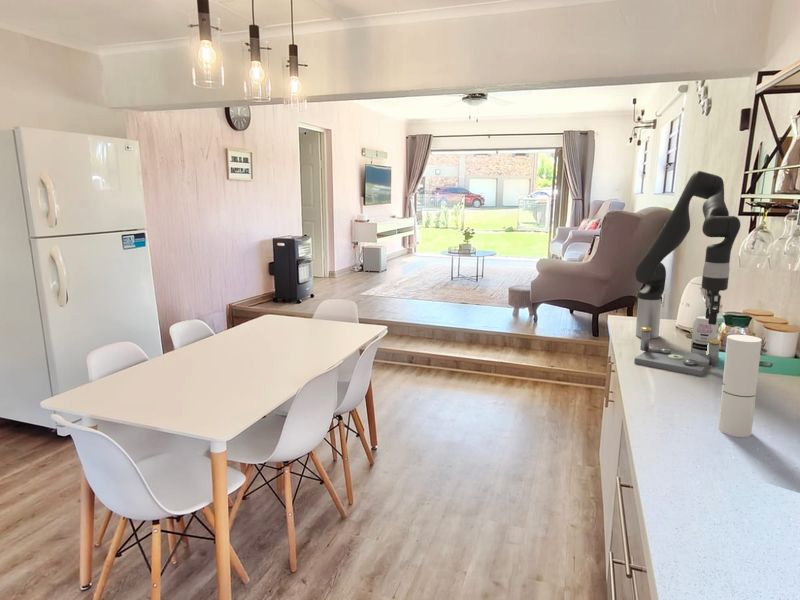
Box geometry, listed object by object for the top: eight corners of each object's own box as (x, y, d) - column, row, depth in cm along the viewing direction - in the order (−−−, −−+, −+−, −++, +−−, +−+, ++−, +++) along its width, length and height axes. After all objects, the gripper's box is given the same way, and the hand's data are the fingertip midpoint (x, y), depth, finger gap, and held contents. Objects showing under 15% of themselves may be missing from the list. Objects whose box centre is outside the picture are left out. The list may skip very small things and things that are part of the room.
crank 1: (670, 351, 190) (671, 328, 188) (671, 354, 186) (672, 330, 184) (639, 349, 194) (640, 326, 192) (639, 351, 190) (641, 328, 189)
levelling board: (653, 351, 197) (653, 345, 197) (716, 362, 182) (717, 355, 182) (634, 363, 184) (634, 356, 183) (700, 376, 168) (701, 369, 168)
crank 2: (683, 365, 174) (685, 340, 172) (682, 361, 177) (684, 337, 176) (719, 368, 170) (722, 342, 168) (717, 364, 173) (719, 339, 172)
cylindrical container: (746, 426, 130) (756, 335, 126) (755, 438, 124) (766, 342, 119) (715, 423, 133) (723, 333, 128) (722, 435, 126) (732, 341, 121)
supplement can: (708, 352, 194) (711, 315, 191) (719, 358, 186) (723, 320, 183) (686, 352, 195) (689, 315, 192) (697, 358, 187) (700, 320, 184)
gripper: (732, 279, 160) (726, 327, 163) (725, 272, 172) (720, 317, 175) (705, 278, 163) (700, 325, 166) (700, 271, 175) (696, 316, 179)
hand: (710, 321), depth 171 cm, fingers open, 8 cm apart
